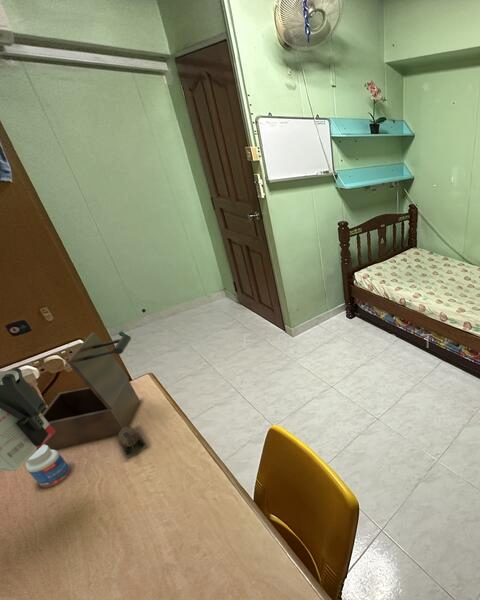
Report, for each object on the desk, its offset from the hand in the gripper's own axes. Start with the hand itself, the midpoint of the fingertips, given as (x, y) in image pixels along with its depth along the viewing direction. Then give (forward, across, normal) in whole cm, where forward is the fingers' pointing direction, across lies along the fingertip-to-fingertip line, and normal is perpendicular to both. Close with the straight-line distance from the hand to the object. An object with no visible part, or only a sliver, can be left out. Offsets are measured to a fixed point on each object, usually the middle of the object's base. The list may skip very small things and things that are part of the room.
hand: (19, 444), depth 61 cm
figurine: (+23, +8, +13) cm, 27 cm away
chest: (+23, -5, +26) cm, 34 cm away
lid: (+4, +2, +26) cm, 26 cm away
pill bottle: (+23, -8, +10) cm, 26 cm away
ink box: (+2, 0, 0) cm, 2 cm away
